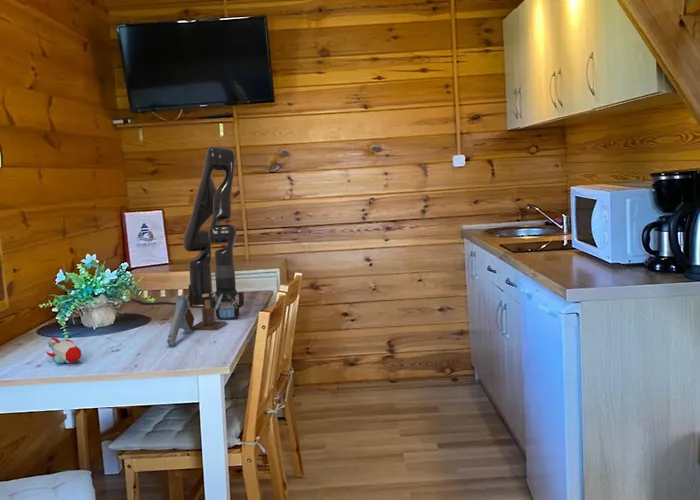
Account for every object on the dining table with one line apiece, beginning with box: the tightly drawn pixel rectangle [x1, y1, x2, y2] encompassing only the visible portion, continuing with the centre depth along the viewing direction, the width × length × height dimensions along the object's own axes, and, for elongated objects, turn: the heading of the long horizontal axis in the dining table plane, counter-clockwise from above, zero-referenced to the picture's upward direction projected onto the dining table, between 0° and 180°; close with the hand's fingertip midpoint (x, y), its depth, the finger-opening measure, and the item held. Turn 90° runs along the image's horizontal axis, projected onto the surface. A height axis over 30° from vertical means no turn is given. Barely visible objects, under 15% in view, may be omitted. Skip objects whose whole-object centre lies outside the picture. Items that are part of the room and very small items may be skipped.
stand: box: [192, 300, 228, 331], centre depth 248 cm, size 10×10×10 cm
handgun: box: [166, 292, 195, 347], centre depth 232 cm, size 4×25×15 cm
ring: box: [219, 307, 235, 318], centre depth 262 cm, size 6×6×2 cm
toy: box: [45, 336, 82, 364], centre depth 207 cm, size 21×7×7 cm, turn 40°
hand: (227, 318), depth 262 cm, fingers closed on ring, 6 cm apart
